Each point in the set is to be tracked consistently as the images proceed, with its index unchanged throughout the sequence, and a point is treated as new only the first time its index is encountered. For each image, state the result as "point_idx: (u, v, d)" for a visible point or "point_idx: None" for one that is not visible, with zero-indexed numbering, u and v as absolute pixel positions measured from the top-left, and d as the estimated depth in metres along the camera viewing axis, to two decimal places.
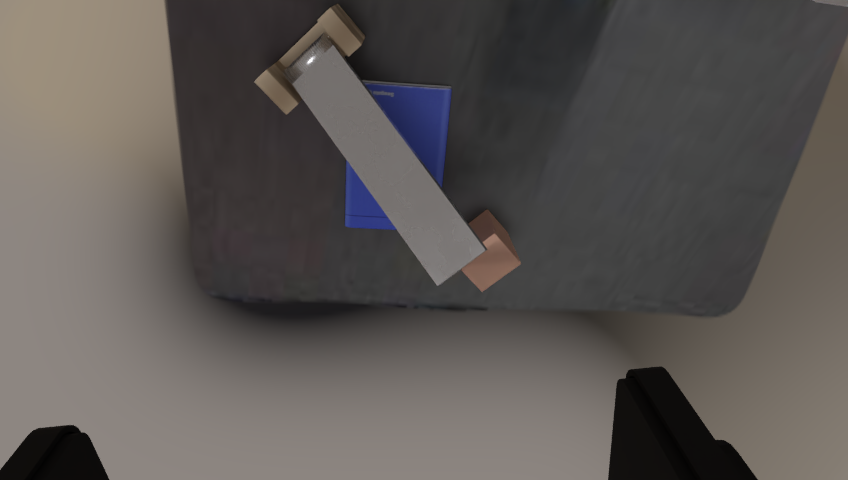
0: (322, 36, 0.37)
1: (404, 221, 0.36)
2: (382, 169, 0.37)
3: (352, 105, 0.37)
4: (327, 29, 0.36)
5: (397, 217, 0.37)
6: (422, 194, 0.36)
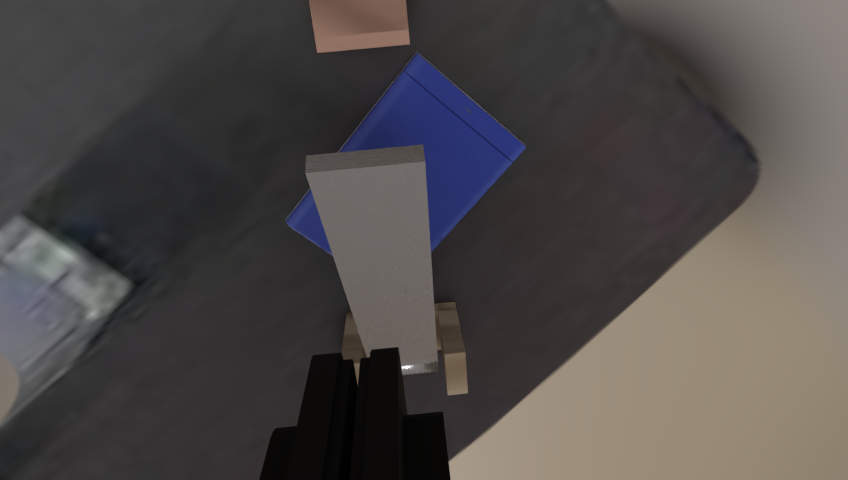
0: None
1: (411, 244, 0.22)
2: (398, 291, 0.25)
3: (387, 337, 0.29)
4: None
5: (417, 250, 0.23)
6: (362, 257, 0.23)
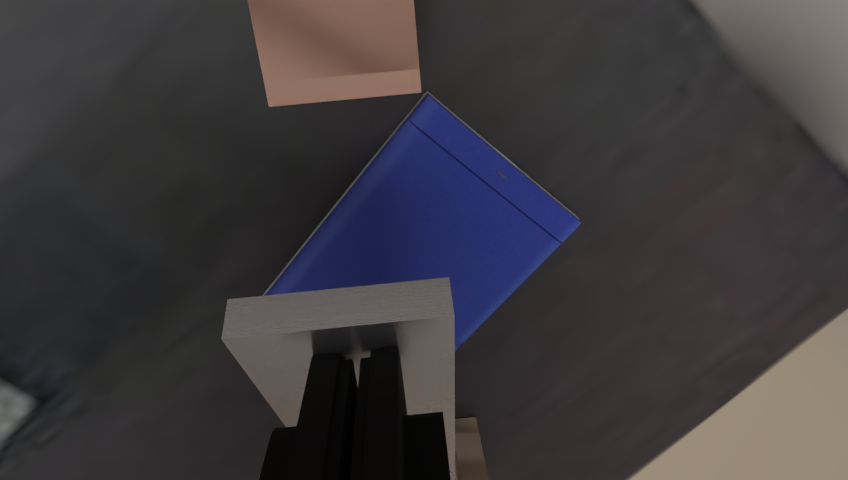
0: None
1: None
2: None
3: None
4: None
5: None
6: None
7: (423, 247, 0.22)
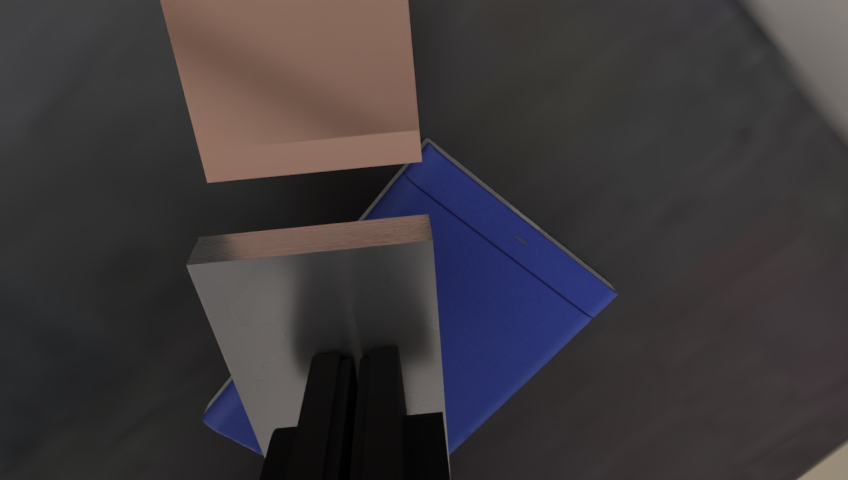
0: None
1: None
2: None
3: None
4: None
5: None
6: None
7: None
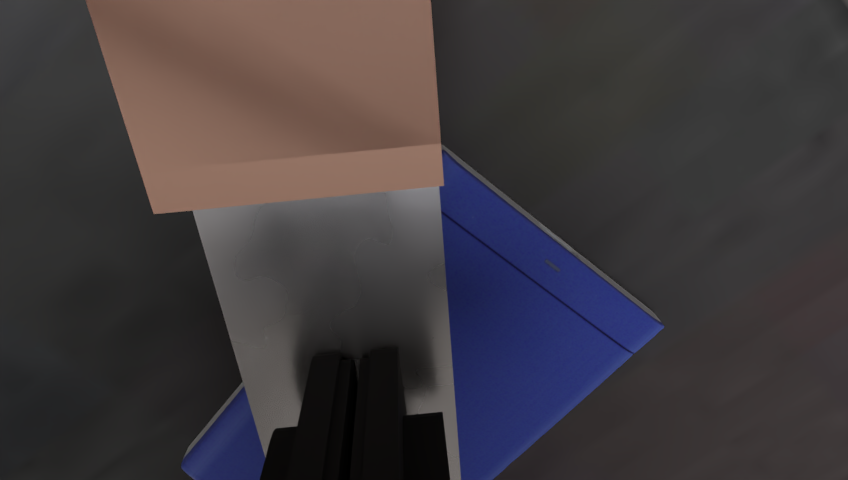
0: None
1: (417, 410, 0.11)
2: None
3: None
4: None
5: None
6: None
7: None
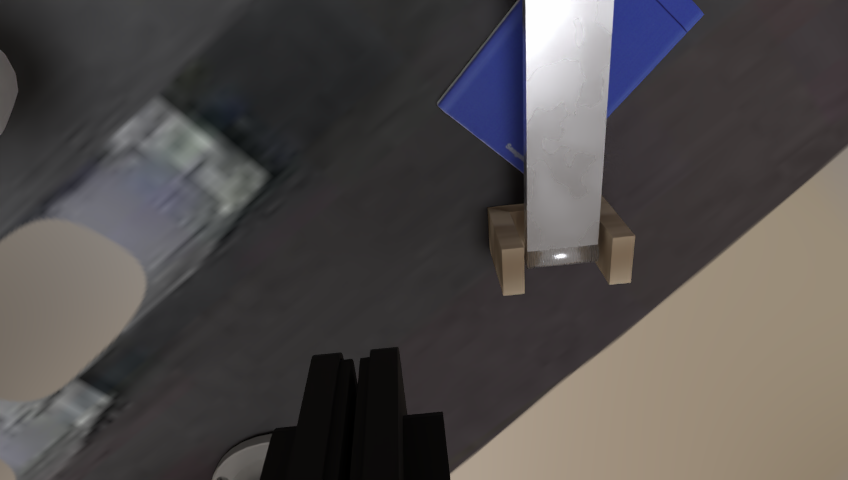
0: (532, 266, 0.31)
1: (597, 3, 0.25)
2: (575, 88, 0.27)
3: (553, 181, 0.29)
4: (522, 281, 0.31)
5: (601, 15, 0.25)
6: (551, 23, 0.25)
7: None
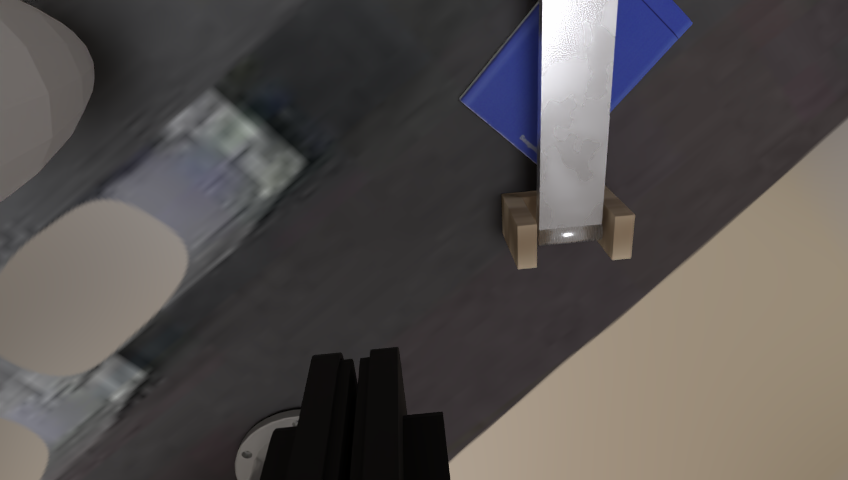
0: (543, 243, 0.35)
1: (603, 9, 0.29)
2: (583, 82, 0.31)
3: (563, 165, 0.33)
4: (534, 255, 0.34)
5: (606, 19, 0.29)
6: (563, 26, 0.29)
7: None
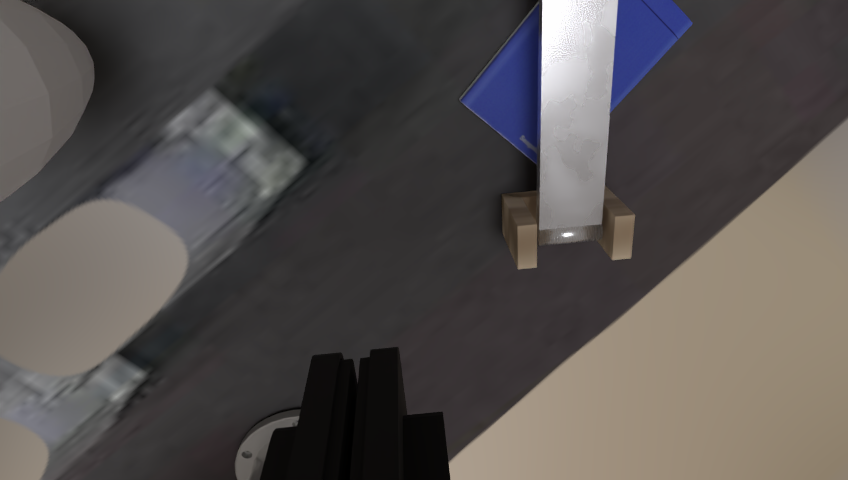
0: (543, 243, 0.35)
1: (603, 9, 0.29)
2: (583, 82, 0.31)
3: (563, 165, 0.33)
4: (534, 255, 0.34)
5: (606, 19, 0.29)
6: (563, 26, 0.29)
7: None
